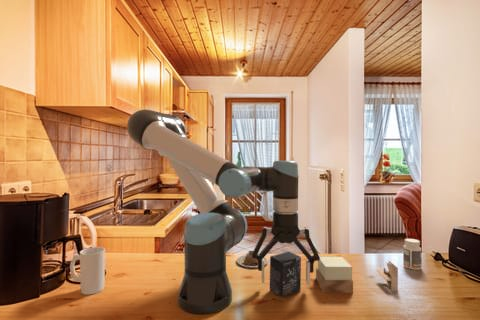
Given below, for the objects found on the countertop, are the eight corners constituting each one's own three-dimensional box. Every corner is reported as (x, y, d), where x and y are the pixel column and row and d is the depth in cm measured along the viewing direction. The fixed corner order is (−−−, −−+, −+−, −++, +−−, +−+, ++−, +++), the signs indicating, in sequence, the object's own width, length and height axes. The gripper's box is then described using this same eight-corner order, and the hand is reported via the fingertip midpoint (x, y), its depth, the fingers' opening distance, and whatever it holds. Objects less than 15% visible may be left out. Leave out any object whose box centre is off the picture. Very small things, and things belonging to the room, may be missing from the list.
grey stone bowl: (230, 263, 103) (230, 251, 103) (252, 255, 112) (252, 244, 112) (252, 273, 95) (252, 260, 95) (274, 263, 103) (274, 251, 103)
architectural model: (386, 291, 82) (386, 267, 82) (376, 281, 89) (376, 258, 89) (398, 292, 81) (398, 267, 81) (387, 281, 88) (387, 259, 88)
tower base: (322, 293, 81) (322, 279, 81) (315, 279, 90) (316, 267, 90) (352, 294, 80) (353, 280, 80) (343, 280, 89) (343, 268, 89)
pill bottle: (421, 266, 100) (421, 239, 100) (421, 271, 95) (422, 243, 95) (403, 263, 103) (403, 237, 103) (403, 268, 98) (403, 241, 98)
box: (281, 298, 77) (282, 261, 77) (269, 290, 81) (269, 255, 81) (301, 291, 81) (301, 256, 81) (288, 283, 86) (288, 250, 86)
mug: (109, 284, 85) (109, 246, 85) (98, 295, 78) (98, 254, 78) (77, 284, 85) (76, 246, 85) (63, 295, 78) (63, 254, 78)
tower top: (325, 279, 80) (325, 266, 80) (317, 268, 88) (317, 256, 88) (352, 280, 80) (352, 266, 80) (342, 269, 88) (342, 256, 88)
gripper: (243, 213, 78) (243, 285, 79) (330, 215, 76) (330, 289, 76) (245, 208, 86) (245, 274, 86) (324, 210, 84) (324, 278, 84)
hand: (285, 282), depth 81 cm, fingers open, 13 cm apart
